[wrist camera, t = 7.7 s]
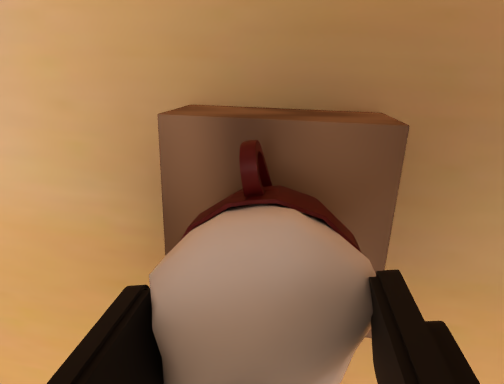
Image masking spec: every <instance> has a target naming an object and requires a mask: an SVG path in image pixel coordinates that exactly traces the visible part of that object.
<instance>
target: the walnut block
mask: <svg viewBox="0 0 504 384" xmlns="http://www.w3.org/2000/svg"><path fill="white" fill-rule="evenodd" d="M158 131H159V149H160V166H161V184H162V202H163V220H164V238H165V255H167V254H168V253H169V252H170V251H171V250H172V249H173V248H174V247H175V246H176V245H177V244H178V243H179V242H180V240H181V238H182V237H183V235H184V233H185V231H186V230H187V228H188V226H189V225H190V224H191V223H192V222H193V220H194V219H195V218H196V217H197V216H198V215H199V214H200V213H202V212H203V211H205V210H207V209H208V208H210V207H212V206H213V205H215V204H217V203H218V202H220V201H222V200H223V199H225V198H227V197H228V196H230V195H232V194H233V193H235V192H237V191H239V190H241V189H243V187H242V181H241V173H240V162H239V155H240V146H241V143H243V142H244V141H248V140H258V141H259V143H260V145H261V147H262V151H263V154H264V157H265V161H266V164H267V168H268V172H269V175H270V178H271V182H272V186H277V185H281V186H284V187H287V188H290V189H292V190H295V191H298V192H301V193H304V194H307V195H310V196H313V197H315V198H316V199H318V200H319V201H320V202H321V203H322V204H323V205H324V206H325V207H326V208H327V209H328V210H329V211H330V212H331V213H332V214H333V215H334V216H335V217H336V218H337V219H339V220H340V221H341V222H342V223H343V224H344V225H345V226H346V227H347V228H348V229H349V230H350V232H351V233H352V234H353V235H354V237H355V239H356V241H357V243H358V246H359V248H360V250H361V253H362V254H363V255H364V256H365V257H367V258H368V259H369V261H370V263H371V265H372V267H373V269H374V271H375V274H376V271H384V269H385V263H386V257H387V251H388V246H389V240H390V234H391V229H392V223H393V217H394V211H395V206H396V200H397V194H398V189H399V183H400V177H401V171H402V166H403V160H404V154H405V148H406V143H407V137H408V131H409V125H407V124H404V123H402V122H400V121H398V120H396V119H394V118H392V117H389V116H387V115H385V114H383V113H372V112H349V111H326V110H303V109H279V108H256V107H233V106H210V105H188V106H184V107H181V108H177V109H174V110H170V111H167V112H163V113H160V114H158ZM365 337H368V338H372V332H371V329H370V331H369V332H368V333H367V335H366V336H365Z"/></svg>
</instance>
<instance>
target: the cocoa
mask: <svg viewBox="0 0 504 384" xmlns="http://www.w3.org/2000/svg"><path fill="white" fill-rule="evenodd" d="M239 162H240V173H241V181H242V187H243V189H241V190H239V191H237V192H235V193H233V194H232V195H230V196H228V197H227V198H225V199H223V200H222V201H220V202H218V203H217V204H215V205H213V206H212V207H210V208H208V209H207V210H205V211H203V212H202V213H200V214H199V215H198V216H197V217H196V218H195V219H194V220H193V222H192V223H191V224H190V225H189V226H188V228H187V230H186V231H185V233H184V235H183V237H182V238H181V240H180V242H179V243H178V244H177V245H176V246H175V247H174V248H173V249H172V250H171V251H170V252H169V253H168V254H167V255H166V256H165V257H164V258H163V259H162V260H161V261H160V263H159V264H158V265H157V266H156V267H155V269H154V270H153V271H152V272H151V273H150V274H149V282H150V293H151V303H152V330H153V333H154V336H155V339H156V342H157V345H158V348H159V351H160V354H161V357H162V368H163V380H164V384H339V383H341V381H342V379H343V376H344V374H345V372H346V370H347V367H348V365H349V363H350V361H351V358H352V356H353V354H354V352H355V350H356V349H357V347H358V346H359V345H360V343H361V342H362V340H363V339H364V338H365V336H366V335H367V333H368V332H369V331H370V329H371V317H372V314H373V306H372V298H371V291H370V284H369V277H376V274H375V271H374V269H373V267H372V265H371V263H370V261H369V259H368V258H367V257H365V256H364V255H363V254H362V253H361V250H360V248H359V246H358V243H357V241H356V239H355V237H354V235H353V234H352V233H351V232H350V230H349V229H348V228H347V227H346V226H345V225H344V224H343V223H342V222H341V221H340V220H339V219H337V218H336V217H335V216H334V215H333V214H332V213H331V212H330V211H329V210H328V209H327V208H326V207H325V206H324V205H323V204H322V203H321V202H320V201H319V200H318V199H316V198H315V197H313V196H310V195H307V194H304V193H301V192H298V191H295V190H292V189H290V188H287V187H284V186H281V185H277V186H272V182H271V178H270V175H269V172H268V168H267V164H266V161H265V157H264V154H263V151H262V147H261V145H260V143H259V141H258V140H248V141H244V142H243V143H241V146H240V155H239Z"/></svg>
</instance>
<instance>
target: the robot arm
mask: <svg viewBox="0 0 504 384" xmlns="http://www.w3.org/2000/svg"><path fill="white" fill-rule="evenodd" d="M369 284H370V291H371V298H372V306H373V314H372V317H371V332H372V349H373V363H374V369H375V374H376V378H377V382H378V384H480V383H479V381H478V379H477V378H476V376H475V374H474V372H473V371H472V369H471V367H470V365H469V364H468V362H467V360H466V359H465V357H464V355H463V353H462V352H461V350H460V348H459V346H458V345H457V343H456V341H455V339H454V338H453V336H452V334H451V332H450V331H449V329H448V327H447V326H446V324H445V323H444V322H442V321H424V319H423V317H422V315H421V313H420V311H419V309H418V307H417V305H416V303H415V301H414V299H413V297H412V295H411V293H410V291H409V289H408V287H407V285H406V283H405V281H404V279H403V277H402V275H401V273H400V271H399V270H384V271H376V277H369ZM47 384H164V380H163V368H162V357H161V354H160V351H159V348H158V345H157V342H156V339H155V336H154V333H153V330H152V303H151V293H150V288H149V287H148V286H147V285H135V286H127V287H126V288H125V289H124V290H123V291H122V292H121V293H120V295H119V296H118V297H117V298H116V300H115V301H114V302H113V303H112V304H111V306H110V307H109V308H108V309H107V311H106V312H105V313H104V314H103V315H102V317H101V318H100V319H99V320H98V322H97V323H96V324H95V325H94V326H93V328H92V329H91V330H90V331H89V333H88V334H87V335H86V336H85V337H84V339H83V340H82V341H81V342H80V344H79V345H78V346H77V347H76V348H75V350H74V351H73V352H72V353H71V354H70V356H69V357H68V358H67V359H66V361H65V362H64V363H63V364H62V365H61V367H60V368H59V369H58V370H57V372H56V373H55V374H54V375H53V376H52V378H51V379H50V380H49V381H48V383H47Z"/></svg>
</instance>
